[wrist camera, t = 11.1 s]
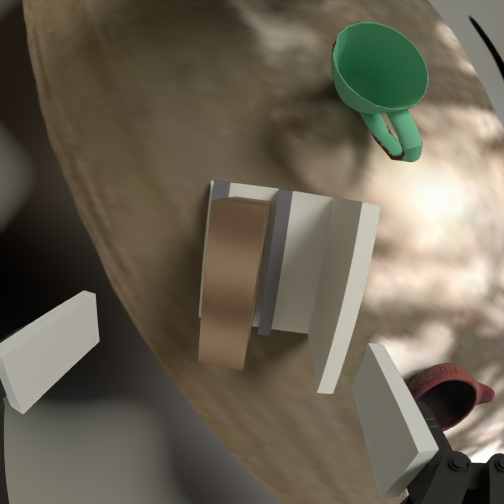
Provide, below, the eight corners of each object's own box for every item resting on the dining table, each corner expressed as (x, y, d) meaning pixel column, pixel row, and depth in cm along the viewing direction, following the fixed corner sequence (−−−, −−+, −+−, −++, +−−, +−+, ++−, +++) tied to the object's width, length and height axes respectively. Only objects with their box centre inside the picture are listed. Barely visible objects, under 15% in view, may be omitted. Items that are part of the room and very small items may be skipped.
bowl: (402, 423, 39) (415, 454, 32) (383, 379, 38) (398, 413, 30) (476, 376, 36) (496, 401, 29) (468, 325, 35) (495, 349, 27)
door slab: (235, 196, 33) (211, 200, 21) (270, 200, 33) (265, 207, 21) (222, 310, 36) (198, 362, 24) (254, 315, 36) (242, 370, 24)
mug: (306, 68, 30) (314, 29, 20) (374, 53, 28) (400, 18, 19) (351, 177, 32) (378, 173, 23) (418, 156, 31) (460, 149, 21)
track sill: (213, 180, 34) (175, 176, 21) (347, 200, 33) (386, 207, 20) (200, 313, 38) (166, 368, 25) (321, 331, 37) (337, 394, 24)
